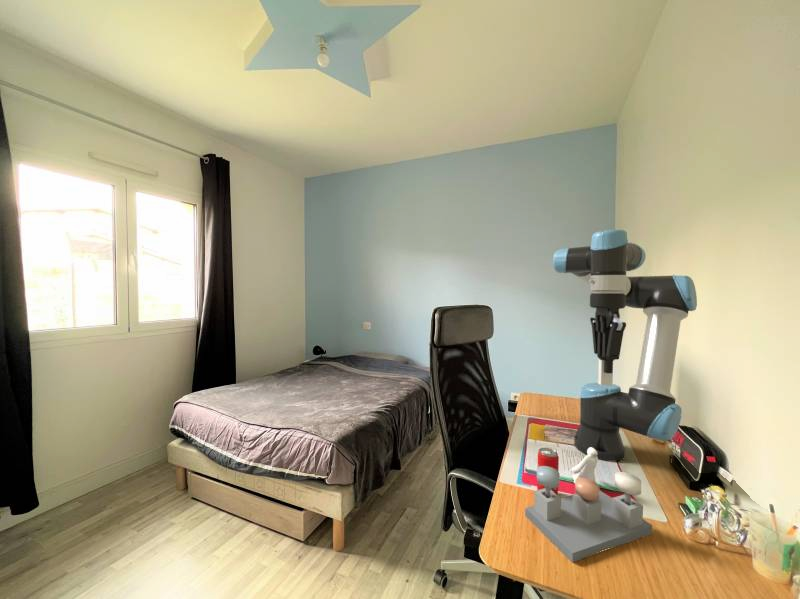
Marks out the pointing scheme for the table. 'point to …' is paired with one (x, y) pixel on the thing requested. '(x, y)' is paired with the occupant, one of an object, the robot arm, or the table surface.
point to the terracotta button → (587, 489)
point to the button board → (587, 522)
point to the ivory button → (628, 485)
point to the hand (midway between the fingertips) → (605, 384)
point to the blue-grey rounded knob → (548, 478)
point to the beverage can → (548, 463)
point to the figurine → (586, 466)
